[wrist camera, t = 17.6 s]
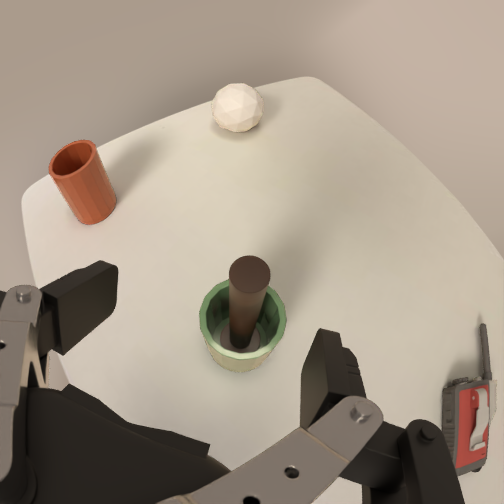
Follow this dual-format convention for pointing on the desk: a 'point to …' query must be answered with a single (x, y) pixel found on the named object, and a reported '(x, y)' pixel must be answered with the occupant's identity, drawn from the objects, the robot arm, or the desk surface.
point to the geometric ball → (237, 107)
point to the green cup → (217, 318)
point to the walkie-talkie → (470, 415)
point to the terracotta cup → (83, 181)
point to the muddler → (245, 304)
